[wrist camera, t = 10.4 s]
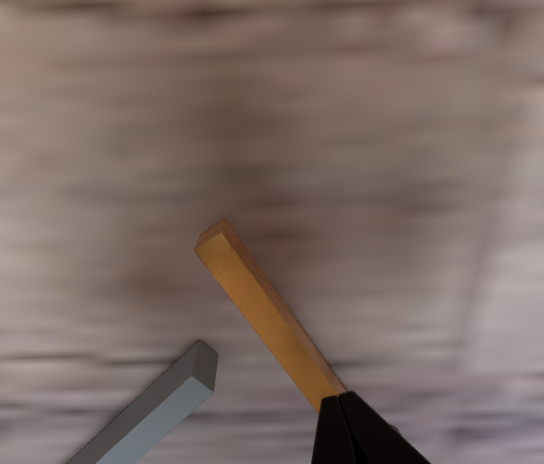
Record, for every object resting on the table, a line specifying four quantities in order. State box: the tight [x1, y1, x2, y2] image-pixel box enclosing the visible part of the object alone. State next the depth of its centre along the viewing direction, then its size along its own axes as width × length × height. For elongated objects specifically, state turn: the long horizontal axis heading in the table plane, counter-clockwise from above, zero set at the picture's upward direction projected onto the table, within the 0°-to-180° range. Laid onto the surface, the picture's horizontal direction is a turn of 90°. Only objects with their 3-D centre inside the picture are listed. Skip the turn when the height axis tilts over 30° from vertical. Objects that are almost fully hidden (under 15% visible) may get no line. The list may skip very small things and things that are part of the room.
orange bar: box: [194, 219, 346, 414], centre depth 18 cm, size 20×3×2 cm, turn 32°
